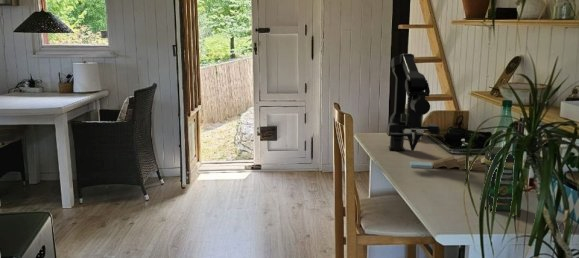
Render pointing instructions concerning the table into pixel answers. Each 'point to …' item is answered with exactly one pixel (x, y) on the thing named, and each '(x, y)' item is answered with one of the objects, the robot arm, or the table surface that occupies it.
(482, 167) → the domino
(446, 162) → the domino
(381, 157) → the table surface
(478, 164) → the domino
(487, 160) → the coffee jar
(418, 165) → the blue-grey rectangular block
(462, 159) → the domino
